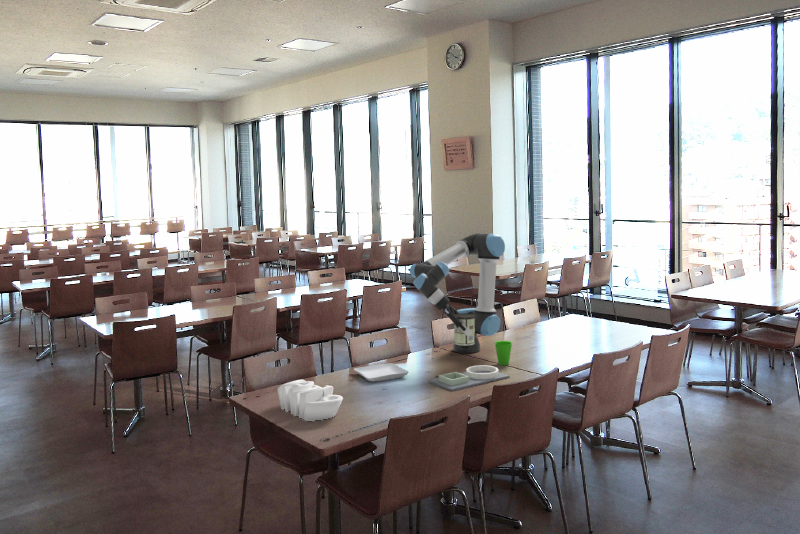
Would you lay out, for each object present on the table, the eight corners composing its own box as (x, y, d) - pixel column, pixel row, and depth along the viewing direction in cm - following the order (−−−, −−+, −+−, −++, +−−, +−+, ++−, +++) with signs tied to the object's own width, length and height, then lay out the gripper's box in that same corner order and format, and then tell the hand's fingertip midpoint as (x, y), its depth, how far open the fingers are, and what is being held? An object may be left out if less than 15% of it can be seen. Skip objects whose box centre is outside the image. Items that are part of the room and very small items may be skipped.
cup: (512, 366, 336) (512, 345, 334) (494, 366, 338) (493, 344, 336) (513, 361, 344) (512, 340, 343) (495, 361, 346) (494, 340, 345)
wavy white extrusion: (272, 405, 287) (270, 381, 286) (306, 397, 297) (305, 374, 295) (312, 427, 259) (310, 400, 258) (348, 417, 269) (347, 391, 267)
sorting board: (428, 382, 314) (428, 374, 313) (484, 369, 332) (484, 362, 331) (451, 391, 299) (451, 383, 298) (509, 377, 317) (509, 370, 316)
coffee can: (458, 340, 338) (458, 312, 337) (477, 342, 334) (478, 314, 332) (450, 344, 329) (450, 315, 327) (470, 346, 324) (470, 317, 323)
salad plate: (352, 374, 332) (352, 367, 332) (392, 368, 340) (392, 361, 340) (368, 385, 313) (368, 378, 312) (409, 378, 321) (409, 371, 321)
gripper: (436, 301, 343) (466, 332, 342) (431, 309, 321) (463, 342, 320) (446, 291, 341) (477, 322, 341) (442, 298, 319) (475, 332, 318)
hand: (470, 332), depth 330 cm, fingers closed on coffee can, 10 cm apart
